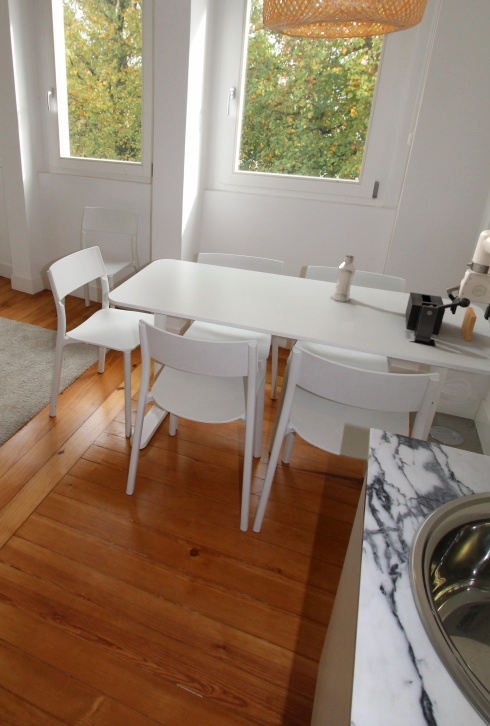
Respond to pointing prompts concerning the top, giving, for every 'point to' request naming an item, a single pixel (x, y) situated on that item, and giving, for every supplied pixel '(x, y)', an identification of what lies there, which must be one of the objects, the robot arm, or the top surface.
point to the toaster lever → (455, 304)
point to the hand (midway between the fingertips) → (469, 315)
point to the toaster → (414, 310)
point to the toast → (468, 323)
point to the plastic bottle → (344, 279)
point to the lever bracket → (425, 324)
